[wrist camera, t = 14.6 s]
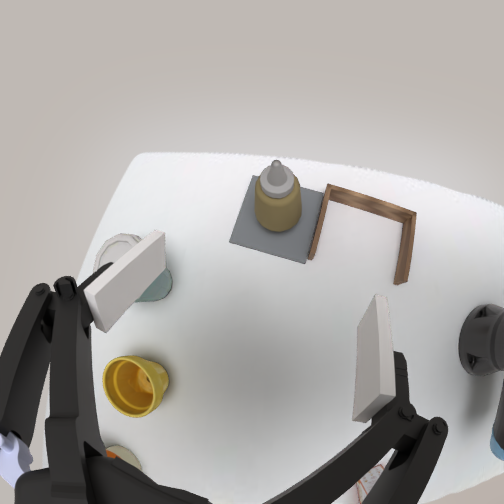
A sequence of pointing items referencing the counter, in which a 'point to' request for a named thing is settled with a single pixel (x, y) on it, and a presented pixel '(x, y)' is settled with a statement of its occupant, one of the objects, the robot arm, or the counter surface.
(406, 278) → the walnut nook
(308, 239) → the slate mat
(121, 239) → the disposable coffee cup
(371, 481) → the cracker box
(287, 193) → the squeeze bottle
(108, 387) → the plant pot
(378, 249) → the counter surface
